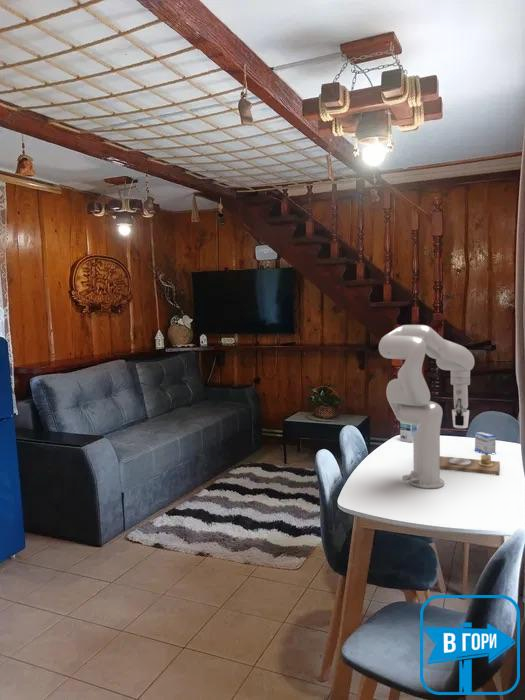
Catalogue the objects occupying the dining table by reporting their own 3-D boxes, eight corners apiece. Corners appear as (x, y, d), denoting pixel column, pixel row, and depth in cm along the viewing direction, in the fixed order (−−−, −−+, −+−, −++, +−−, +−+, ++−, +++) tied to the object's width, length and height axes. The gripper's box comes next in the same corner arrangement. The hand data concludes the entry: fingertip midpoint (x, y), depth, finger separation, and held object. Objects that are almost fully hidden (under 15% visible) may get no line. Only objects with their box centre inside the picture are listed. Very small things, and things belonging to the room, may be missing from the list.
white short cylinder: (450, 427, 217) (450, 411, 216) (453, 424, 223) (453, 408, 222) (468, 429, 213) (468, 412, 213) (470, 425, 219) (470, 409, 219)
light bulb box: (412, 443, 258) (412, 421, 257) (399, 441, 263) (399, 419, 262) (422, 438, 266) (422, 417, 265) (409, 436, 270) (409, 416, 270)
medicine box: (474, 451, 241) (474, 432, 241) (481, 449, 243) (481, 431, 242) (488, 455, 234) (488, 436, 233) (495, 453, 236) (495, 434, 235)
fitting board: (435, 468, 217) (435, 456, 216) (439, 459, 229) (439, 447, 229) (498, 475, 207) (499, 461, 206) (499, 465, 219) (499, 452, 219)
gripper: (468, 384, 207) (468, 428, 208) (471, 378, 223) (471, 419, 224) (448, 383, 210) (448, 427, 212) (452, 377, 226) (452, 418, 227)
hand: (460, 423), depth 218 cm, fingers closed on white short cylinder, 6 cm apart
